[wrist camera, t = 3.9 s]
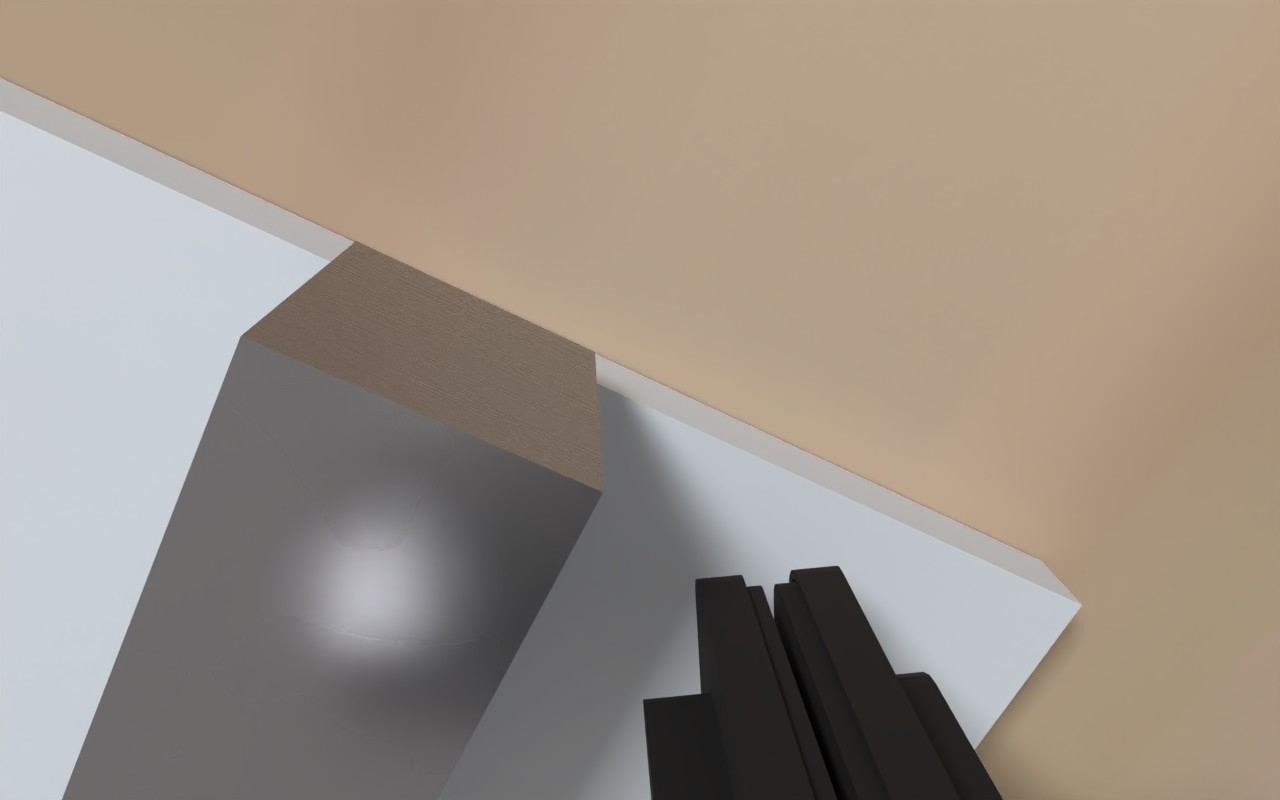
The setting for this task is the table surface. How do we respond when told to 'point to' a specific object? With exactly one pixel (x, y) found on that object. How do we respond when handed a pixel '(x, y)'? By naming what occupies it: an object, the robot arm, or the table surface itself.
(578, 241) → the table surface
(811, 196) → the table surface
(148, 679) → the latch bar
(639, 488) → the door board
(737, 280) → the table surface
